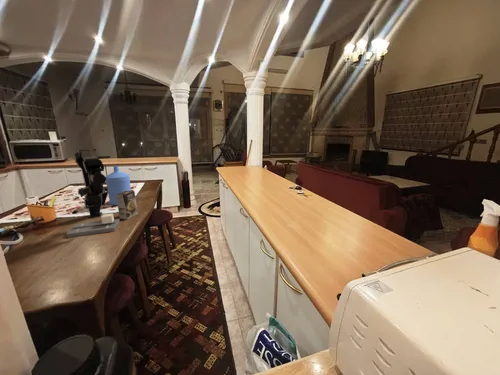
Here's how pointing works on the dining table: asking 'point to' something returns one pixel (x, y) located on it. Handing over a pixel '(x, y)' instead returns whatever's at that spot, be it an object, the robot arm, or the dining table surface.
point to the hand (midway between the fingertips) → (101, 207)
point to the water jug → (117, 184)
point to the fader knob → (107, 218)
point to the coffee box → (126, 204)
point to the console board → (92, 228)
